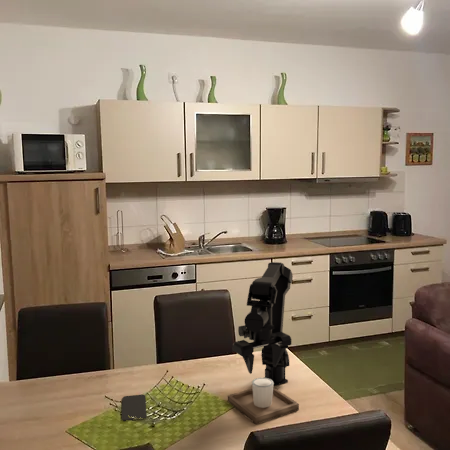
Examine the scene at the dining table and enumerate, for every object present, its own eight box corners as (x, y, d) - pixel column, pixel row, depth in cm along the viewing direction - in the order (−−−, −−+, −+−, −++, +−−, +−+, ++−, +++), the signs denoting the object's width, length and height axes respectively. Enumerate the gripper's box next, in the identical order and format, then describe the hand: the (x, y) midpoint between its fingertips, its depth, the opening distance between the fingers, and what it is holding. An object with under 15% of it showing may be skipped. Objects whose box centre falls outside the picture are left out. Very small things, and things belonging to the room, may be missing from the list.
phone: (121, 420, 141) (122, 396, 156) (121, 422, 141) (122, 398, 156) (146, 417, 143) (145, 394, 157) (146, 420, 143) (145, 396, 157)
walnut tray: (268, 389, 161) (268, 383, 161) (298, 409, 147) (298, 403, 147) (227, 401, 153) (227, 395, 152) (255, 424, 139) (255, 417, 139)
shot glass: (272, 409, 146) (272, 387, 145) (250, 407, 147) (250, 386, 146) (274, 398, 153) (274, 378, 152) (253, 397, 154) (253, 376, 153)
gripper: (271, 310, 158) (271, 355, 160) (223, 319, 149) (223, 367, 151) (292, 318, 149) (292, 366, 151) (242, 329, 139) (242, 380, 141)
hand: (262, 369), depth 148 cm, fingers open, 9 cm apart
